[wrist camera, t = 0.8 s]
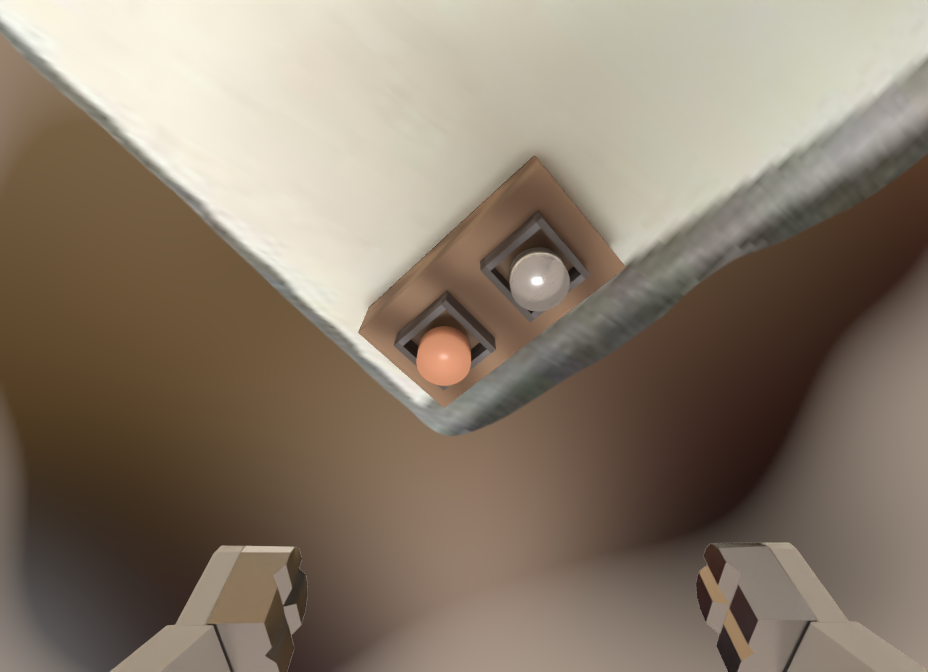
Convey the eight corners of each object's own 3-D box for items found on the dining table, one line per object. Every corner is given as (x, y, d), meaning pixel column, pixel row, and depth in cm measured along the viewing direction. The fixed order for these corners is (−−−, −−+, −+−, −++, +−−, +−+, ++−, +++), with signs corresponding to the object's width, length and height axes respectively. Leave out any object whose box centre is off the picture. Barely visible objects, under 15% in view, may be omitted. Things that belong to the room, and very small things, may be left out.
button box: (534, 155, 39) (547, 169, 32) (609, 247, 42) (634, 276, 36) (368, 307, 44) (353, 344, 38) (446, 377, 48) (442, 421, 42)
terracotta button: (445, 316, 37) (444, 327, 35) (481, 350, 38) (482, 364, 36) (407, 348, 38) (404, 361, 36) (443, 380, 39) (442, 395, 38)
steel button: (540, 235, 34) (544, 243, 32) (575, 275, 35) (581, 286, 34) (496, 272, 35) (498, 282, 33) (532, 310, 37) (535, 322, 35)
